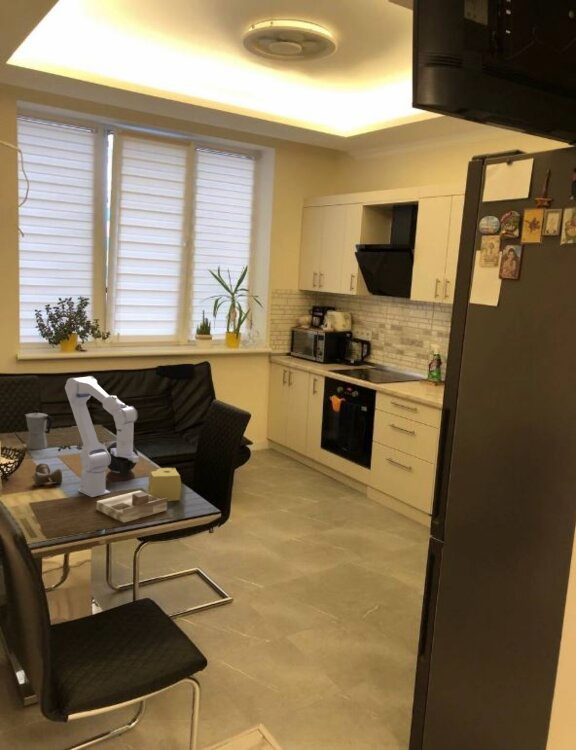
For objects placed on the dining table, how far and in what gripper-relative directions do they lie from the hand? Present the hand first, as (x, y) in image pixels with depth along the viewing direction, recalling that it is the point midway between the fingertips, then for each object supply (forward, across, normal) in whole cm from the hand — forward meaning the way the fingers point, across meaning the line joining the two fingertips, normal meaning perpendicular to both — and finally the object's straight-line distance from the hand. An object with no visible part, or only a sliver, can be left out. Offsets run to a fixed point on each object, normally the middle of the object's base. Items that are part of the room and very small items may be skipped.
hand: (124, 477), depth 225 cm
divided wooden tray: (+9, +8, -2) cm, 13 cm away
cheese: (+10, +5, +15) cm, 18 cm away
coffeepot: (+10, -84, +12) cm, 85 cm away
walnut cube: (+6, +13, -2) cm, 14 cm away
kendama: (+10, -38, -9) cm, 40 cm away
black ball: (+10, -25, +16) cm, 31 cm away
